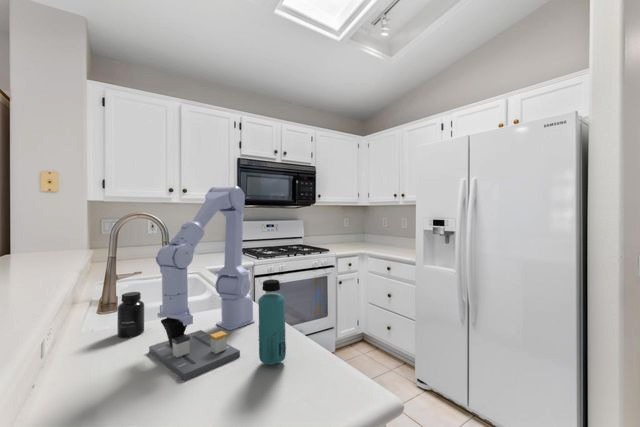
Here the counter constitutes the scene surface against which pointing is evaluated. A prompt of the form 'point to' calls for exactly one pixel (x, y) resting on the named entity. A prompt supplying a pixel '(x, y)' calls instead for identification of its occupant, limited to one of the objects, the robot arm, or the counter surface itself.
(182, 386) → the counter surface
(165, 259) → the robot arm
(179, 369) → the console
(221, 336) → the fader orange
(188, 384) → the counter surface
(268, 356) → the beverage bottle
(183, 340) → the fader black
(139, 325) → the supplement bottle
